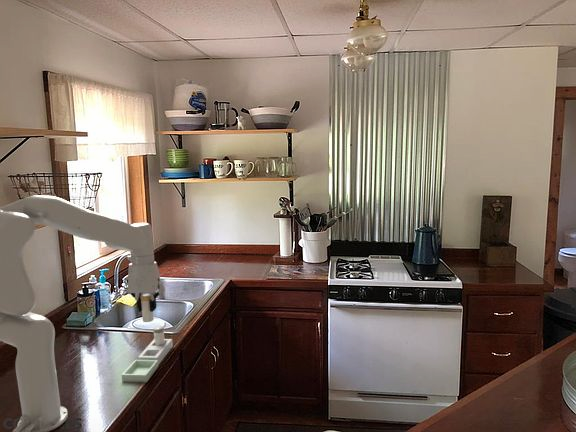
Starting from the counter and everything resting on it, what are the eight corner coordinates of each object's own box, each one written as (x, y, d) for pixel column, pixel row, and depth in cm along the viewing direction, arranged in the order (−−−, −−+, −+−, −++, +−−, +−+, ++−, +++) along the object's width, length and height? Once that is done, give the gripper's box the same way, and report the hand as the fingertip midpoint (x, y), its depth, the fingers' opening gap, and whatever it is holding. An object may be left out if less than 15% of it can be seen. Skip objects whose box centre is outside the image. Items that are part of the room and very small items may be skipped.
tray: (146, 382, 150) (145, 375, 150) (122, 381, 151) (121, 374, 150) (158, 366, 160) (157, 360, 160) (135, 366, 161) (135, 359, 160)
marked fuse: (151, 322, 160) (148, 297, 159) (141, 322, 161) (138, 297, 159) (155, 318, 164) (153, 293, 162) (145, 317, 164) (142, 293, 163)
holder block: (157, 365, 161) (157, 357, 160) (138, 365, 162) (137, 357, 161) (172, 346, 176) (172, 339, 175) (155, 346, 176) (154, 338, 176)
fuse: (163, 352, 171) (161, 329, 169) (153, 352, 171) (151, 329, 169) (167, 348, 174) (165, 325, 173) (157, 348, 175) (155, 325, 173)
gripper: (114, 262, 156) (119, 314, 159) (162, 262, 154) (166, 314, 157) (124, 256, 163) (129, 306, 166) (170, 256, 161) (173, 306, 164)
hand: (147, 309), depth 161 cm, fingers closed on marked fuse, 3 cm apart
